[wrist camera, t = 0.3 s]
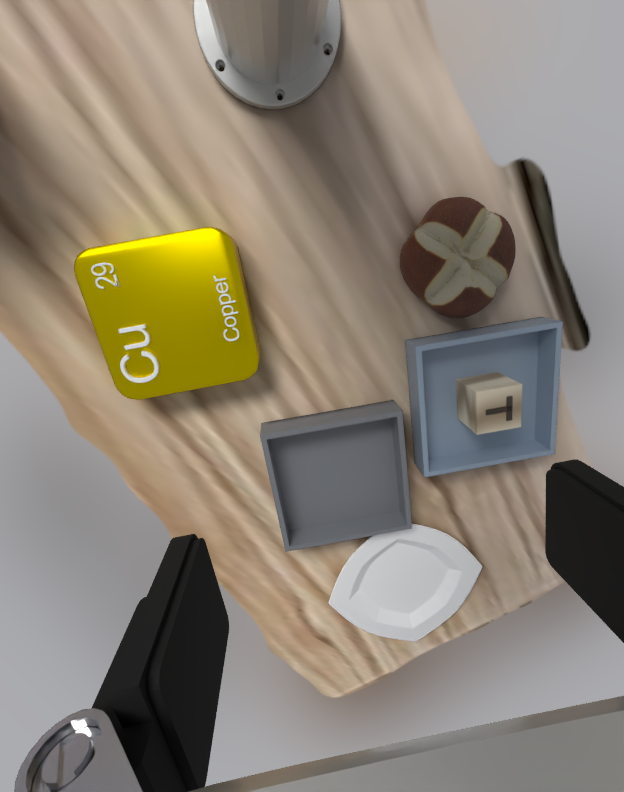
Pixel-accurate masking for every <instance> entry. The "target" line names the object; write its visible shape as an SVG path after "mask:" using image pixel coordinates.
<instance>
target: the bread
mask: <svg viewBox="0 0 624 792" xmlns="http://www.w3.org/2000/svg"><path fill="white" fill-rule="evenodd" d="M514 259H515V239H514V235H513V232H512V229H511V227H510V225H509V223H508V222H507V221H506V219H505V218H503V217H502V216H501V215H498V214H496V213H492V212H490V211H487V209H486V208H485V207H484V206H483V205H482V204H480V203H479V202H478V201H476V200H474V199H471V198H467V197H455V198H448V199H443V200H441V201H439V202H437V203H436V204H434V205H433V206H432V207H431V208H430V210H429V211H428V212H427V214H426V215H425V217H424V218H423V220H422V222H421V223H420V225H419V226H418V227H417V229H416V230H415V231H414V232H413V233H412V235H411V236H410V237H409V238H408V239H407V241H406V242H405V244H404V246H403V248H402V250H401V254H400V268H401V272H402V275H403V277H404V280H405V282H406V283H407V285H408V286H409V287H410V289H411V290H412V291H413V292H414V293H415V294H416V295H417V296H419V297H420V298H422V299H423V300H424V301H425V302H426V303H428V304H429V306H430V307H432V308H433V309H434V310H435V311H436V312H438V313H439V314H441V315H444V316H447V317H451V318H463V317H467V316H470V315H473V314H475V313H477V312H478V311H480V310H482V309H483V308H484V307H485V306H487V305H488V304H489V303H490V302H491V300H492V299H493V298H494V296H495V291H496V289H497V288H498V287H499V286H500V285H501V284H502V283H504V282H505V281H506V280H507V279H508V277H509V275H510V272H511V269H512V266H513V263H514Z"/></svg>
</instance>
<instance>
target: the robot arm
mask: <svg viewBox="0 0 624 792" xmlns="http://www.w3.org/2000/svg"><path fill="white" fill-rule="evenodd" d="M193 16H194V23H195V30H196V34H197V37H198V41H199V45H200V48H201V50H202V53H203V55H204V58H205V60H206V62H207V64H208V65H209V67H210V69H211V71H212V73H213V74H214V76H215V77H216V78H217V79H218V81H219V82H220V83H221V84H222V86H223V87H224V88H226V89H227V90H228V91H229V92H230V93H231V94H232V95H233V96H235V97H236V98H238V99H240V100H241V101H243V102H245V103H247V104H249V105H252V106H255V107H258V108H264V109H283V108H287V107H290V106H293V105H296V104H298V103H300V102H301V101H303V100H305V99H306V98H308V97H309V96H310V95H311V94H312V93H314V92H315V91H316V90H317V89H318V88H319V86H320V85H321V84H322V82H323V81H324V80H325V78H326V77H327V75H328V73H329V71H330V69H331V67H332V65H333V62H334V59H335V56H336V53H337V49H338V44H339V39H340V34H341V8H340V0H193ZM326 51H327V52H329V54H330V55H325V54H324V52H326ZM221 67H223V68H224V71H222V72H220V71H219V69H220V68H221ZM278 96H282V97H283V99H282V100H278V99H277V97H278ZM546 557H547V559H548V562H549V563H550V565H551V566H552V567H553V568H554V570H555V571H556V572H557V573H558V574H559V575H560V576H561V577H562V578H563V579H564V580H565V581H566V582H567V583H568V584H569V585H570V586H571V588H572V589H573V590H574V591H575V592H576V593H577V594H578V595H579V596H580V597H581V598H582V599H583V600H584V601H585V602H586V603H587V605H588V606H590V608H591V609H592V610H593V611H594V612H595V613H596V614H597V615H598V616H599V617H600V618H601V619H602V620H603V621H604V622H605V623H606V624H607V626H608V627H609V628H610V629H611V630H612V631H613V632H614V633H615V634H616V635H617V636H618V637H619V638H620V639H621V641H622V642H623V643H624V487H623V486H621V485H619V484H618V483H616V482H614V481H613V480H611V479H609V478H608V477H606V476H605V475H603V474H601V473H600V472H598V471H596V470H595V469H593V468H591V467H590V466H588V465H586V464H585V463H583V462H581V461H579V460H570V461H564V462H559V463H555V464H553V465H552V467H551V470H549V471H547V473H546ZM228 633H229V621H228V615H227V612H226V609H225V605H224V602H223V599H222V595H221V592H220V589H219V585H218V582H217V579H216V576H215V572H214V569H213V566H212V562H211V559H210V556H209V553H208V549H207V546H206V543H205V540H204V539H203V538H200V539H198V538H197V536H196V535H195V534H191V535H186V536H180V537H175V538H173V539H172V540H171V541H170V544H169V546H168V548H167V551H166V553H165V555H164V558H163V560H162V562H161V565H160V567H159V569H158V572H157V574H156V576H155V579H154V581H153V583H152V586H151V588H150V590H149V593H148V595H147V597H144V598H143V599H142V600H140V602H139V604H138V605H137V607H136V610H135V612H134V614H133V617H132V619H131V621H130V623H129V625H128V628H127V630H126V632H125V634H124V637H123V639H122V641H121V643H120V646H119V648H118V650H117V652H116V655H115V657H114V659H113V662H112V664H111V666H110V668H109V670H108V673H107V675H106V677H105V679H104V682H103V684H102V686H101V688H100V691H99V693H98V695H97V697H96V700H95V702H94V704H93V706H92V709H84V710H81V711H78V712H76V713H74V714H71V715H69V716H67V717H66V718H64V719H63V720H61V721H60V722H58V723H57V724H55V725H54V726H53V727H52V728H51V729H50V730H49V731H47V732H46V733H45V734H44V735H43V736H42V737H41V738H40V739H39V741H38V742H37V743H36V744H35V745H34V747H33V748H32V749H31V750H30V752H29V753H28V755H27V757H26V758H25V760H24V762H23V763H22V765H21V767H20V769H19V772H18V775H17V778H16V781H15V790H14V792H624V696H621V697H616V698H611V699H606V700H601V701H596V702H592V703H586V704H581V705H576V706H571V707H567V708H562V709H557V710H553V711H547V712H543V713H538V714H533V715H528V716H523V717H518V718H514V719H509V720H504V721H499V722H494V723H490V724H485V725H480V726H475V727H471V728H466V729H461V730H456V731H451V732H447V733H442V734H437V735H432V736H428V737H423V738H418V739H414V740H409V741H404V742H400V743H395V744H390V745H386V746H381V747H376V748H372V749H367V750H363V751H358V752H353V753H349V754H344V755H339V756H335V757H330V758H325V759H321V760H316V761H312V762H307V763H302V764H298V765H293V766H289V767H285V768H281V769H277V770H272V771H268V772H264V773H260V774H255V775H251V776H247V777H243V778H238V779H235V780H230V781H226V782H222V783H218V784H213V785H210V786H206V787H205V783H206V778H207V772H208V765H209V758H210V752H211V745H212V738H213V732H214V726H215V719H216V712H217V705H218V699H219V692H220V686H221V679H222V673H223V666H224V660H225V652H226V646H227V640H228Z"/></svg>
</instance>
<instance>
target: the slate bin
mask: <svg viewBox="0 0 624 792" xmlns="http://www.w3.org/2000/svg"><path fill="white" fill-rule="evenodd" d="M562 324H563V321H559V320H553V319H548V318H543V317H538V318H532V319H527V320H521V321H515V322H509V323H503V324H497V325H492V326H486V327H480V328H474V329H468V330H462V331H456V332H451V333H445V334H439V335H433V336H427V337H421V338H416V339H410V340H405V345H406V358H407V371H408V384H409V397H410V410H411V423H412V437H413V450H414V463H415V464H416V466H417V467H418V469H419V470H420V472H421V473H422V475H423V476H424V477H429V476H435V475H440V474H446V473H452V472H457V471H463V470H468V469H474V468H479V467H485V466H490V465H496V464H502V463H507V462H513V461H518V460H524V459H529V458H535V457H541V456H546V455H552V454H555V441H556V425H557V408H558V391H559V374H560V357H561V341H562ZM494 372H498V373H500V374H502V375H505V376H507V377H509V378H511V379H513V380H515V381H517V382H519V383H521V384H522V413H521V427H518V428H513V429H507V430H501V431H496V432H490V433H484V434H479V435H477V434H475V433H474V432H473V431H472V430H471V429H470V428H468V427H467V426H466V425H465V424H464V423H463V422H461V421H460V420H459V419H458V418H457V397H456V379H459V378H465V377H471V376H477V375H482V374H488V373H494Z"/></svg>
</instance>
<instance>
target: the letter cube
mask: <svg viewBox="0 0 624 792" xmlns="http://www.w3.org/2000/svg"><path fill="white" fill-rule="evenodd" d="M456 397H457V418H458V419H459V420H460V421H461V422H463V423H464V424H465V425H466V426H467V427H468V428H470V429H471V430H472V431H473V432H474V433H475V434H477V435H479V434H484V433H490V432H496V431H501V430H507V429H513V428H518V427H521V413H522V384H521V383H519V382H517V381H515V380H513V379H511V378H509V377H507V376H505V375H502V374H500V373H498V372H494V373H488V374H482V375H477V376H471V377H465V378H459V379H456Z"/></svg>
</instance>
